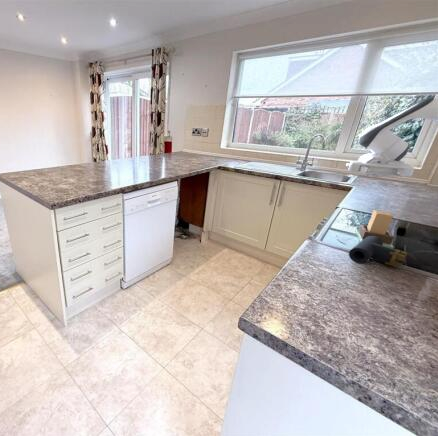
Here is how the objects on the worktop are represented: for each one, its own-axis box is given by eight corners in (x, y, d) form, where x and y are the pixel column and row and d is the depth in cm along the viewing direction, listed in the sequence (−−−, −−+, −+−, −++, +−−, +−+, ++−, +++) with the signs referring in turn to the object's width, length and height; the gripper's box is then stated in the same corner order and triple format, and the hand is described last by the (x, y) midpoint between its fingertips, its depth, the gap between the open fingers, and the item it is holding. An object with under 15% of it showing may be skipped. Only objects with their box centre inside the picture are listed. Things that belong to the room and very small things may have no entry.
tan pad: (364, 233, 96) (373, 209, 92) (379, 236, 94) (389, 212, 90) (366, 238, 92) (376, 213, 88) (382, 241, 90) (393, 216, 86)
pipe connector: (412, 246, 78) (400, 260, 69) (405, 260, 80) (393, 276, 71) (366, 233, 86) (351, 244, 78) (361, 246, 88) (346, 259, 80)
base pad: (354, 231, 100) (358, 222, 98) (383, 236, 96) (387, 227, 94) (360, 243, 90) (364, 233, 89) (392, 249, 86) (397, 239, 85)
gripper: (348, 157, 111) (353, 161, 100) (408, 161, 102) (422, 166, 91) (343, 171, 114) (348, 176, 102) (402, 176, 104) (414, 183, 93)
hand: (383, 171), depth 96 cm, fingers open, 8 cm apart
